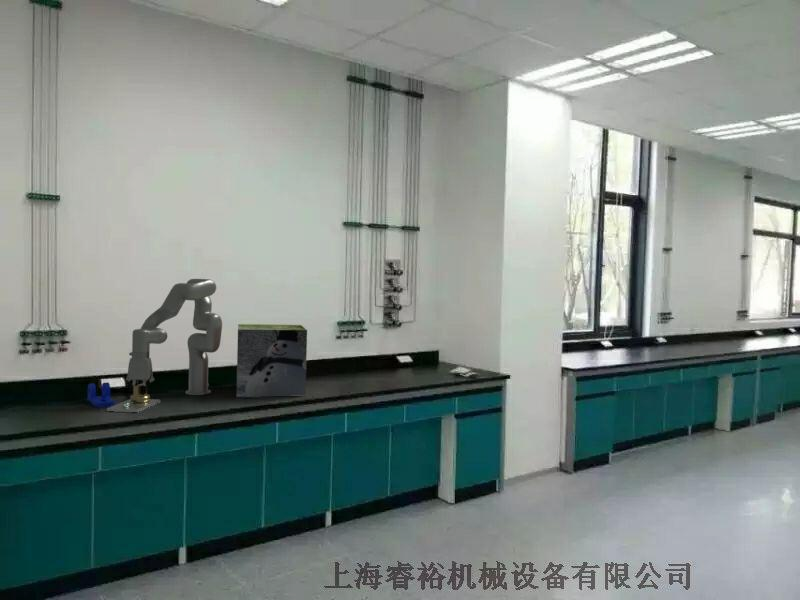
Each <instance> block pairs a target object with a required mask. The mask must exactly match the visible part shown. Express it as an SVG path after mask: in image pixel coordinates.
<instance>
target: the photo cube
mask: <svg viewBox="0 0 800 600" xmlns="http://www.w3.org/2000/svg"><path fill="white" fill-rule="evenodd" d="M237 325H238V326H237V348H236V349H237V352H236V353H237V355H236V358H237V359H236V361H237V362H236V397H251V396H252V398H254V397H253V396H290V395H291V396H292V395H305V396H306V393H307V392H306V391H307V389H306V387H307V385H306V384H307V351H308V349H307V348H308V347H307V346H308V330H307V329H306V328H305V327H304V326H302V324H261V323H260V324H259V323H258V324H256V323H255V324H251V323H249V324H247V323H246V324H245V323H241V324H240V323H238V324H237Z"/></svg>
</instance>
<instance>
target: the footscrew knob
mask: <svg viewBox="0 0 800 600" xmlns="http://www.w3.org/2000/svg"><path fill="white" fill-rule="evenodd" d="M132 386H133V385H132ZM142 386H143V382H142V383H140V384H138V385H135V386H133V389H132V391H133V393H132V394H131V395H130V401H132V402H133V403H142V402H148V401H150V399H151V395H150V394H148V391H147V392H146V394H144V395H142Z"/></svg>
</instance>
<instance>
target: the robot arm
mask: <svg viewBox="0 0 800 600" xmlns="http://www.w3.org/2000/svg"><path fill="white" fill-rule="evenodd" d="M216 291H217V285H216V282H215V281H214V280H212V279H210V278H208V279H206V278H191V279H188V281H186V283H185V282H183V283H182V282H179V283H175V284H174V285H173V286H172V288H171V289H170V291H169V293H168V294H167V296H166V298H165V299H164V301H163V303H162V305H160V307H158V308H157V309H156V310H155V311H153V312H152V313H151V314H150V315H149V316H148V317H147V318H146V319H145V320H144V322H143V324H142V325H141V327H140V328H135V329H134V330H132V333H131V334H132V342H131V343H132V344H131V346H132V349H131V352H129V353H128V356H131V357H130V358H129V361H128V368H127V376H126V379H125V381H127V382H129V383H130V384H132V386H135V385H139V384H138V383H139V381H142V383H143V386H142V395H144V394H146V392H147V393H148V385H149V384H151V383H152V382H154V381H155V377H154V375H153V363H152V358H151V357H150V350H151V349H150V345H151V344H153V345H154V344H155V345H160V344H163V343H165V342H166V340H167V339H168V332H167V331H166V330H165V329H162V328H160V327H159V326H160V325H161V324H162V323H164V322H166V321H167V320H170V319H172V318H174V317H176V316H178V314H179V313H180V311H181V309H182V308H183V305H184V304H185V303H186V301H193V302H194V310H193V319H192V327H193V329H195V330H197V331H203V333H202V332H195V333H192V334H191V335H189V337H187V338H188V339H187V341H186V342H187V343H186V344H187V349H188V358H189V360H188V362H189V363H188V390H186V391H185V395H188V396H204V395H205V394H206V395H210V394H211V393H212V391H211V389H208V388H209V386H210V384H209V356H208V354H209V353H210V354H211V353H215V352H218V350H219V348H220V345H221V339H222V330H223V320H222V318H221V316H220V315H219V314H217V313H214V312H212V307H213V306H212V305H213V303H212V300H211V296H212V295H214V293H216ZM204 332H205V333H204ZM206 395H205V396H206Z"/></svg>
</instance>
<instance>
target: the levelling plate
mask: <svg viewBox="0 0 800 600" xmlns="http://www.w3.org/2000/svg"><path fill="white" fill-rule="evenodd" d="M157 403H159V404H160V403H161V399H154V398H152V399H151V398H150V401H148V402H142V403H133V402H132V401H130V399H126V400H124V401H122V402H119V403H117V404H114V406H110V407H106V412H109V411H114V413H132V412H138V413H140V412H143V411H144V409H145V410H146V408H147V409H149V408H151V407H150V406H152V407H153V405H154V406H156V405H158V404H157ZM155 404H156V405H155ZM148 407H149V408H148ZM142 410H143V411H142ZM139 411H140V412H139Z"/></svg>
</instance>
